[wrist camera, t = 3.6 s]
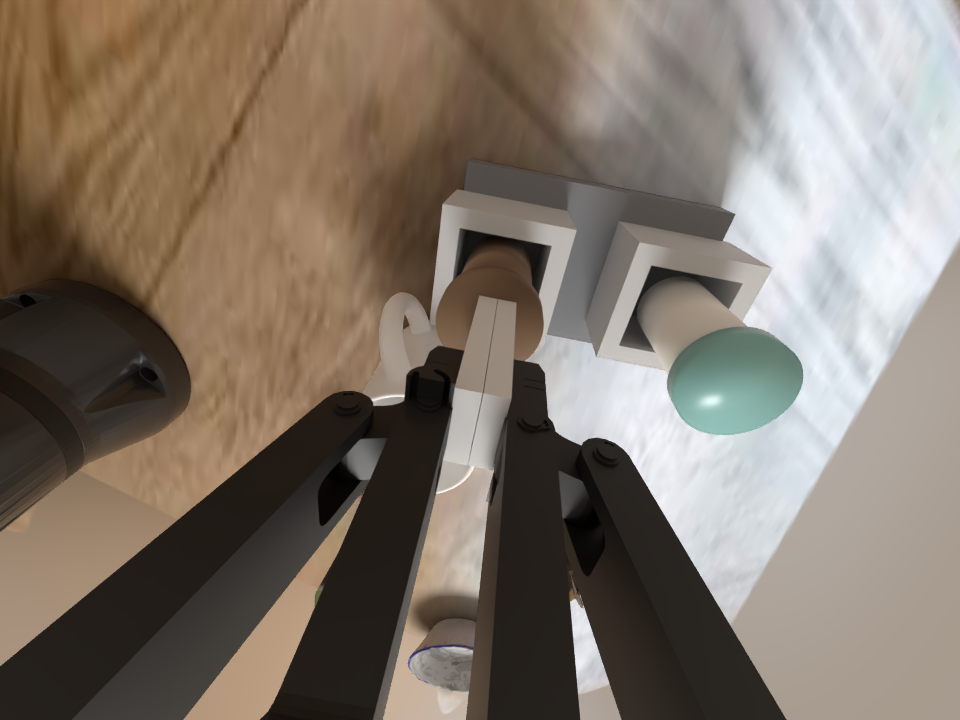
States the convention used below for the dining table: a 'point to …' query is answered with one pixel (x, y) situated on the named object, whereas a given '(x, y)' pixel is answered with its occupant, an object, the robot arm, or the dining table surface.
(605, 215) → the white plug holder
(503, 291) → the walnut plug
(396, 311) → the mug
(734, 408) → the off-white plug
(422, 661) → the bowl
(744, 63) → the dining table surface
